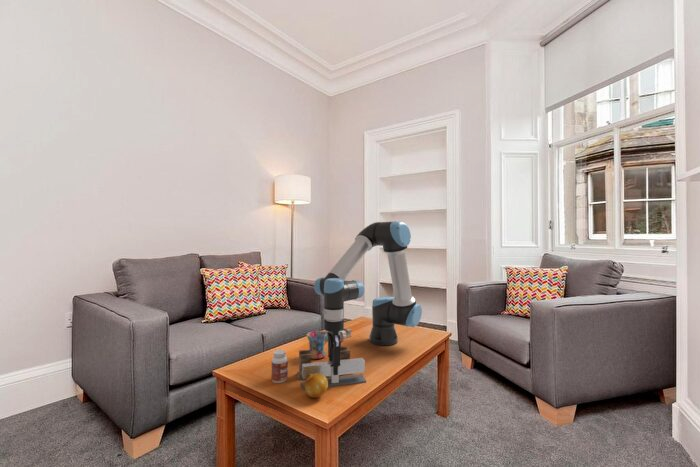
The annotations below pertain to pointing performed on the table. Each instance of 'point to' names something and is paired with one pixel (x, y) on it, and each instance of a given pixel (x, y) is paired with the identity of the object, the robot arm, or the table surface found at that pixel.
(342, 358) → the stand
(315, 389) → the fruit
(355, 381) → the felt mat
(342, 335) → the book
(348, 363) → the rail
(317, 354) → the mug
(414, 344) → the table surface
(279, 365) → the pill bottle
